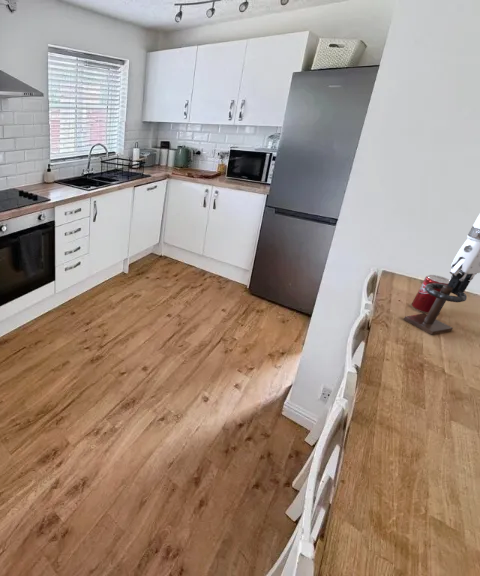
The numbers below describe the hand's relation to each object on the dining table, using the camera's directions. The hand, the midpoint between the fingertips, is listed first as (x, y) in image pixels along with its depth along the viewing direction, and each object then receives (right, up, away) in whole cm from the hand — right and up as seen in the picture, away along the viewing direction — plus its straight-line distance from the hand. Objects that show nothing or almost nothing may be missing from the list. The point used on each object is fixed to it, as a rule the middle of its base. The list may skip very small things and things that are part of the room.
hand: (454, 290), depth 116 cm
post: (-4, -12, +5) cm, 13 cm away
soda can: (+3, -7, +14) cm, 16 cm away
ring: (-4, -1, -1) cm, 4 cm away
